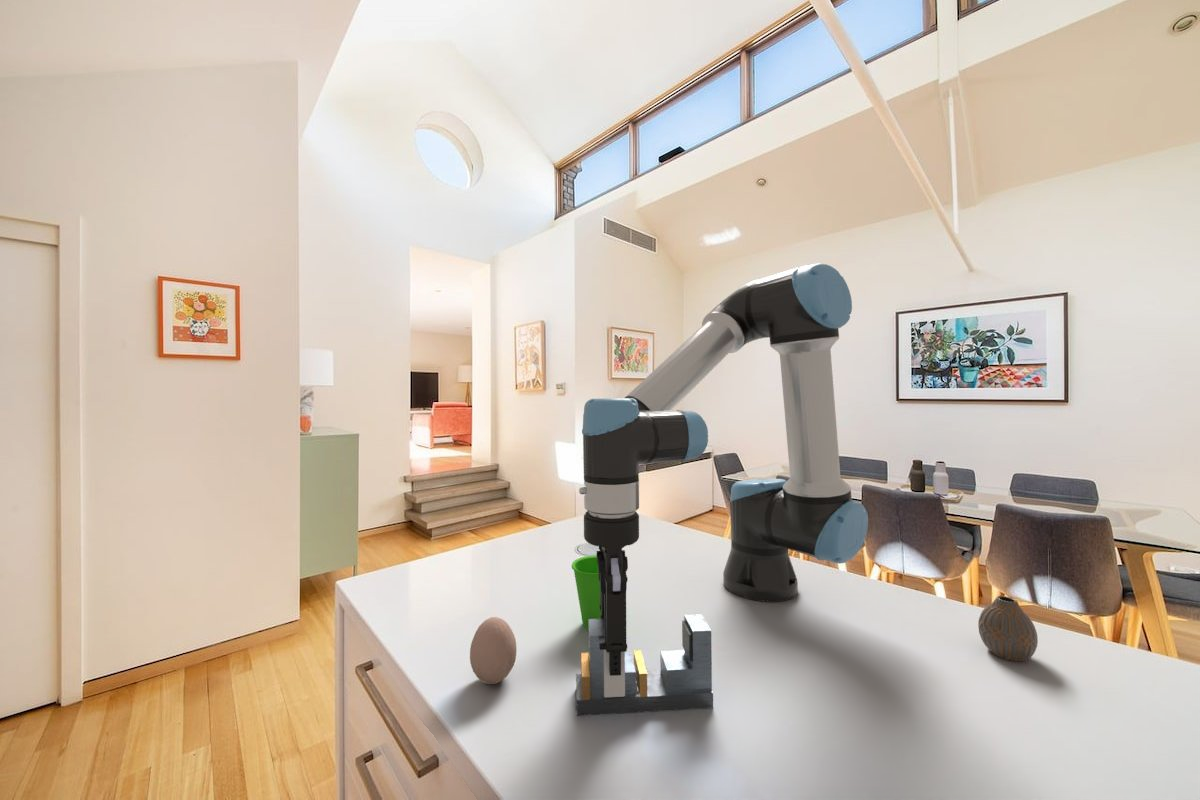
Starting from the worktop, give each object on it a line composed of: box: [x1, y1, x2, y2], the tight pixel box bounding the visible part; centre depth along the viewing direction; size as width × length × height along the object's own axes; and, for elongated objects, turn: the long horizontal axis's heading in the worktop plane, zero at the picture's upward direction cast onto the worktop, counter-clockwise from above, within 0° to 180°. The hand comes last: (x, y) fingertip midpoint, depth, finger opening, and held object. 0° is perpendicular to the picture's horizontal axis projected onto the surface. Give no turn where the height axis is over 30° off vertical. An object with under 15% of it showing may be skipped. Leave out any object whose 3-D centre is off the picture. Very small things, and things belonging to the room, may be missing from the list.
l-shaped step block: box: [588, 619, 636, 697], centre depth 61 cm, size 6×4×8 cm
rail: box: [575, 613, 714, 717], centre depth 61 cm, size 18×6×10 cm, turn 94°
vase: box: [977, 595, 1039, 662], centre depth 71 cm, size 7×7×9 cm
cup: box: [571, 554, 601, 631], centre depth 81 cm, size 9×9×11 cm
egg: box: [469, 616, 517, 685], centre depth 65 cm, size 7×7×9 cm
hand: (612, 682), depth 61 cm, fingers closed on l-shaped step block, 5 cm apart
